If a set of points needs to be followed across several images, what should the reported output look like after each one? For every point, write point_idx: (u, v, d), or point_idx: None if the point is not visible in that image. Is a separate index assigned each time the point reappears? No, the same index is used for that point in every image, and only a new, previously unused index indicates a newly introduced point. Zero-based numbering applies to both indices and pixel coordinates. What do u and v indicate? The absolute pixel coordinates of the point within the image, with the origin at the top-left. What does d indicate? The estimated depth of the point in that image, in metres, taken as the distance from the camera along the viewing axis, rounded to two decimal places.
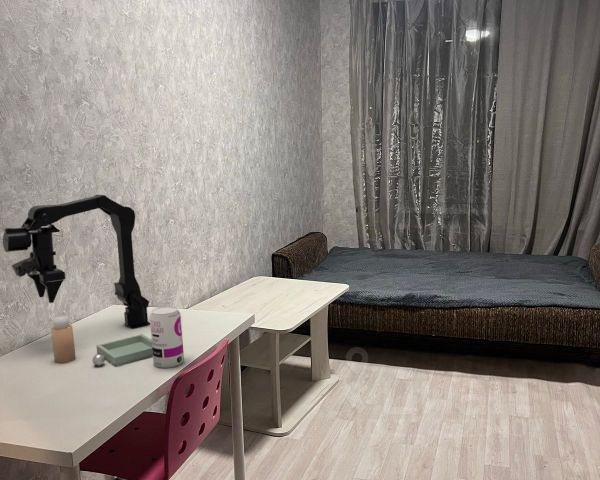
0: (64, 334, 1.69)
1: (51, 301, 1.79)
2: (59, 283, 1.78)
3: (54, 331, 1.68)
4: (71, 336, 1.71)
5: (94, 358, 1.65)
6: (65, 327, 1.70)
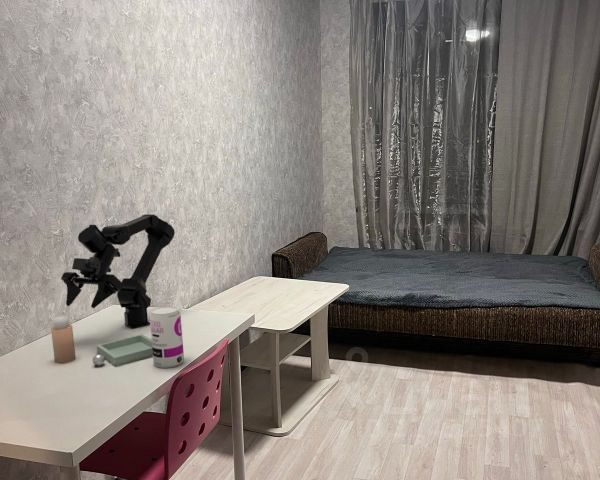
0: (64, 334, 1.69)
1: (93, 306, 1.76)
2: (109, 294, 1.79)
3: (54, 331, 1.68)
4: (71, 336, 1.71)
5: (94, 358, 1.65)
6: (65, 327, 1.70)
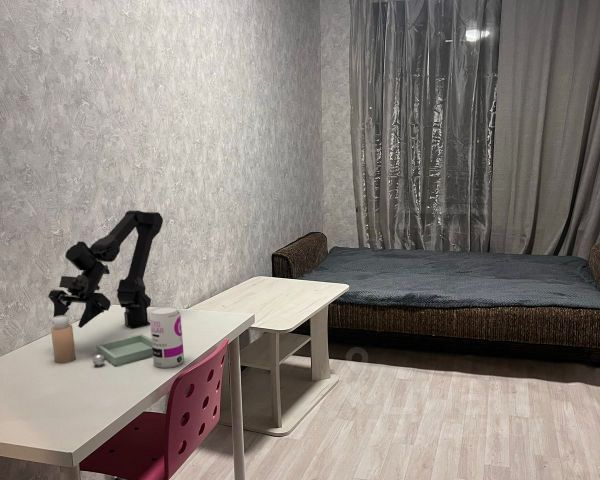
0: (64, 334, 1.69)
1: (81, 325, 1.71)
2: (97, 313, 1.75)
3: (54, 331, 1.68)
4: (71, 336, 1.71)
5: (94, 358, 1.65)
6: (65, 327, 1.70)
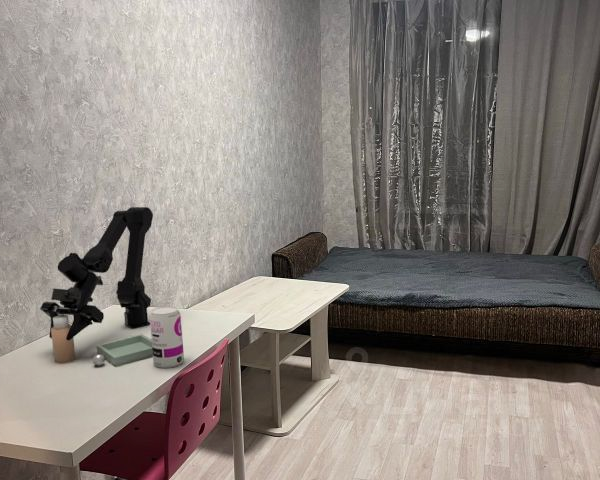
0: (64, 334, 1.69)
1: (68, 338, 1.69)
2: (85, 325, 1.73)
3: (54, 331, 1.68)
4: None
5: (94, 358, 1.65)
6: (65, 327, 1.70)
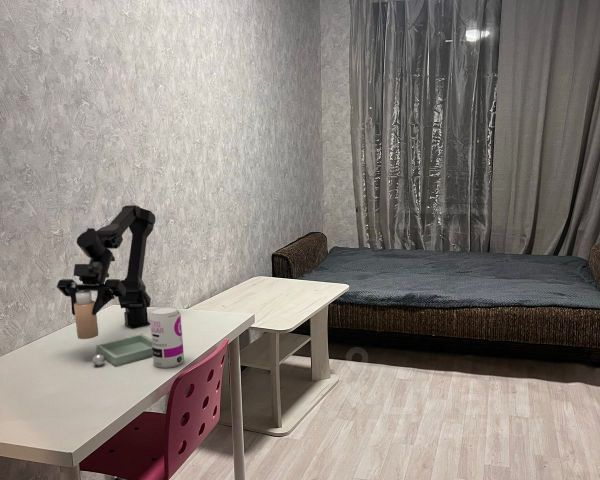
0: (89, 309, 1.68)
1: (94, 313, 1.69)
2: (108, 299, 1.73)
3: (79, 306, 1.67)
4: None
5: (94, 358, 1.65)
6: (89, 302, 1.69)
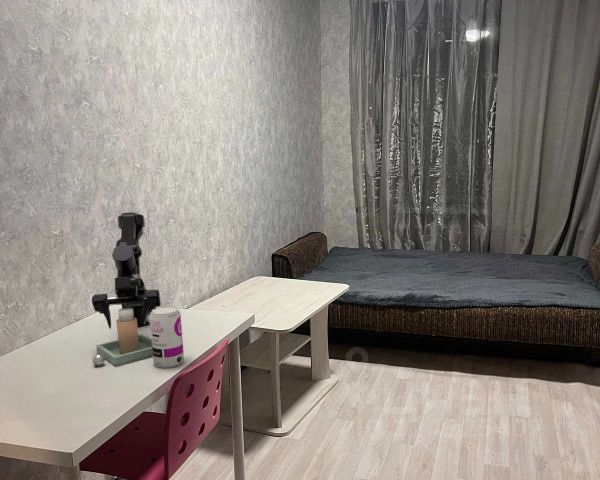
0: (134, 324, 1.72)
1: (144, 323, 1.73)
2: (150, 310, 1.78)
3: (125, 323, 1.71)
4: (137, 326, 1.75)
5: (94, 358, 1.65)
6: (133, 318, 1.73)
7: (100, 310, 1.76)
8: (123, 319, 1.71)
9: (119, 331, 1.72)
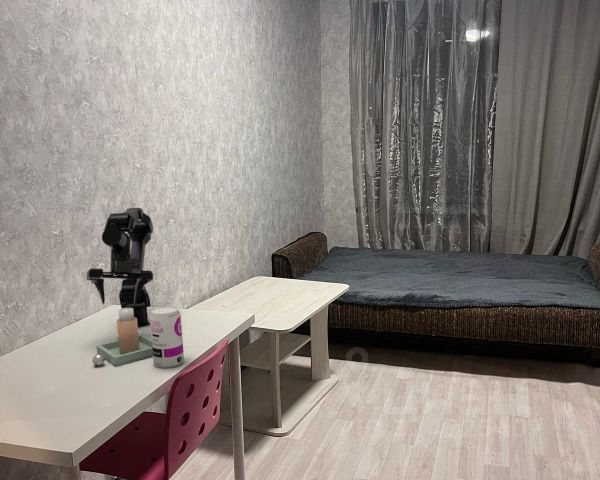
0: (134, 324, 1.73)
1: (136, 302, 1.85)
2: None
3: (125, 323, 1.71)
4: (137, 326, 1.75)
5: (94, 358, 1.65)
6: (133, 318, 1.73)
7: (93, 282, 1.81)
8: (123, 319, 1.71)
9: (119, 331, 1.72)
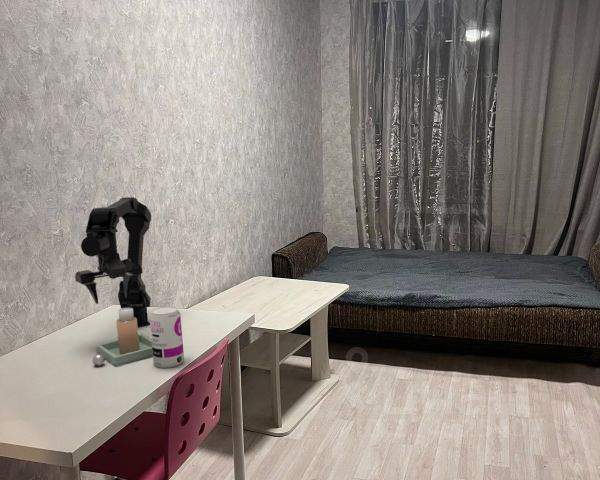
0: (134, 324, 1.73)
1: None
2: None
3: (125, 323, 1.71)
4: (137, 326, 1.75)
5: (94, 358, 1.65)
6: (133, 318, 1.73)
7: None
8: (123, 319, 1.72)
9: (119, 331, 1.72)
